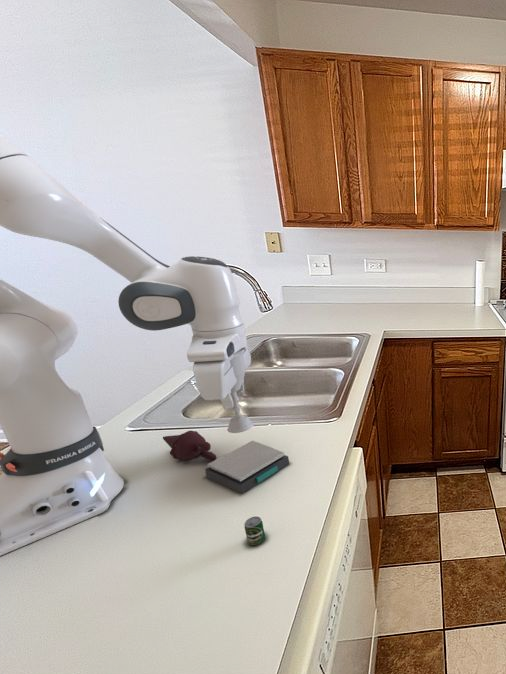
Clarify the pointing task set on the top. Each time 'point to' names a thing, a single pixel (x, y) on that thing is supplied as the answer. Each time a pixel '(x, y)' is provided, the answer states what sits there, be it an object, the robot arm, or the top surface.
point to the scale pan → (246, 460)
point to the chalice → (238, 421)
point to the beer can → (254, 530)
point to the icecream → (189, 446)
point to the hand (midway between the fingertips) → (234, 400)
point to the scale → (249, 481)
